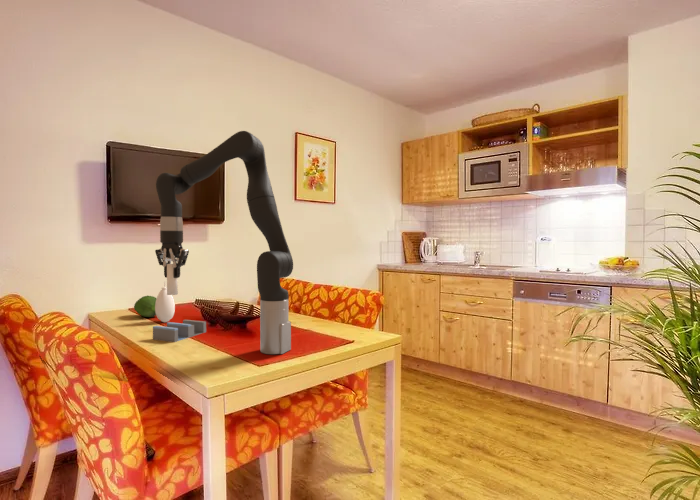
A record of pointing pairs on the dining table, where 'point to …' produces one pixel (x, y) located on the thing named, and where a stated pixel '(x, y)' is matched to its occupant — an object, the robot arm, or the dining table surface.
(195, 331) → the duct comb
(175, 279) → the white rectangular bar
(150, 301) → the fruit
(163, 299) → the white egg candle
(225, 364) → the dining table surface
